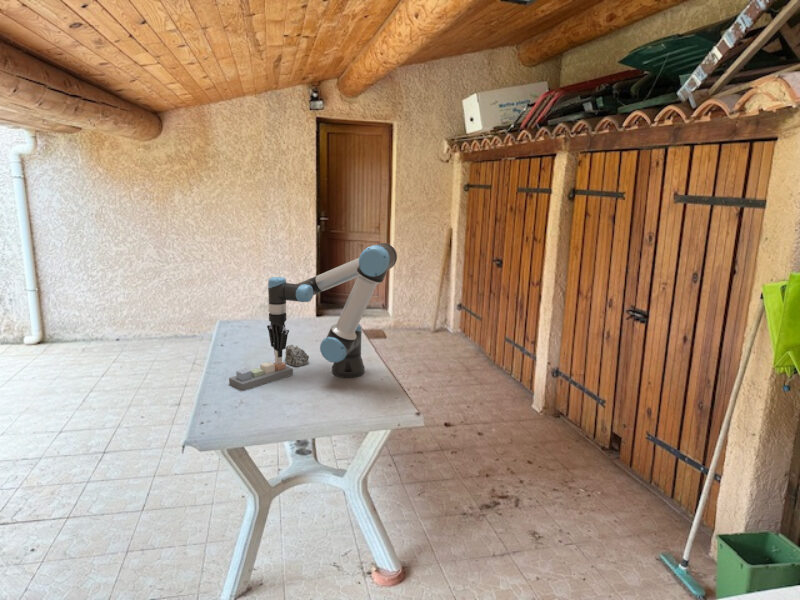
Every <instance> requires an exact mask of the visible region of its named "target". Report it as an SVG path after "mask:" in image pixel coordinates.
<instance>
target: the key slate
mask: <svg viewBox="0 0 800 600" xmlns="http://www.w3.org/2000/svg"><path fill="white" fill-rule="evenodd" d="M250 370H251V369H247V368H243V369H239V370H236V371H235V372H236V373H235V374H236V375H235V376H236V379H238V380H240V381H242V382H243V381H246V380H249V379H251V371H250Z"/></svg>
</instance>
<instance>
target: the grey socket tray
mask: <svg viewBox="0 0 800 600" xmlns="http://www.w3.org/2000/svg"><path fill="white" fill-rule="evenodd" d="M293 375H294V368H293V367H291V366H289V365H288V366H287V365H286V368H285V369H282V370H279V371H277V370H275V372H272V373H269V374H265V373H263V375H262V376H259V377H256V378H254V377H251V379H249V380H246V381H243V382H242V381H240V380H238V379H236V375H235V376H231V377H228V384H229V386H231V387H234V388H236V389H237V390H239V391H241V392H243V391H244V392H245V391H246V390H250V389H254V388H256V387H260V386H263V385H267V384H268V383H269V384H270V383H272V382H275V381H280V380H282V379H284V378H287V377H291V376H293Z"/></svg>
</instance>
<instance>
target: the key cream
mask: <svg viewBox="0 0 800 600" xmlns="http://www.w3.org/2000/svg"><path fill="white" fill-rule="evenodd" d="M259 365H260V366H259V367H260V368H259V369H261V370H263V373H265V374H269V373H272V372H275V364H273V363H272V362H270V361H267V362H263V363H260V364H259Z"/></svg>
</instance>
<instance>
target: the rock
mask: <svg viewBox="0 0 800 600" xmlns="http://www.w3.org/2000/svg"><path fill="white" fill-rule="evenodd" d="M309 356H310V355H308V354H307V352H306V351H305V350H304V349H302V348H300V347H299V346H297V345H296V346H295V345H294V344H291V345H286V349H285V356H284V357H285V358H284V362H286V363H285V364H286V365H288V366H290V367H291V366H293V367H301V366H305V365H308V364H309V358H310V357H309Z"/></svg>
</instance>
